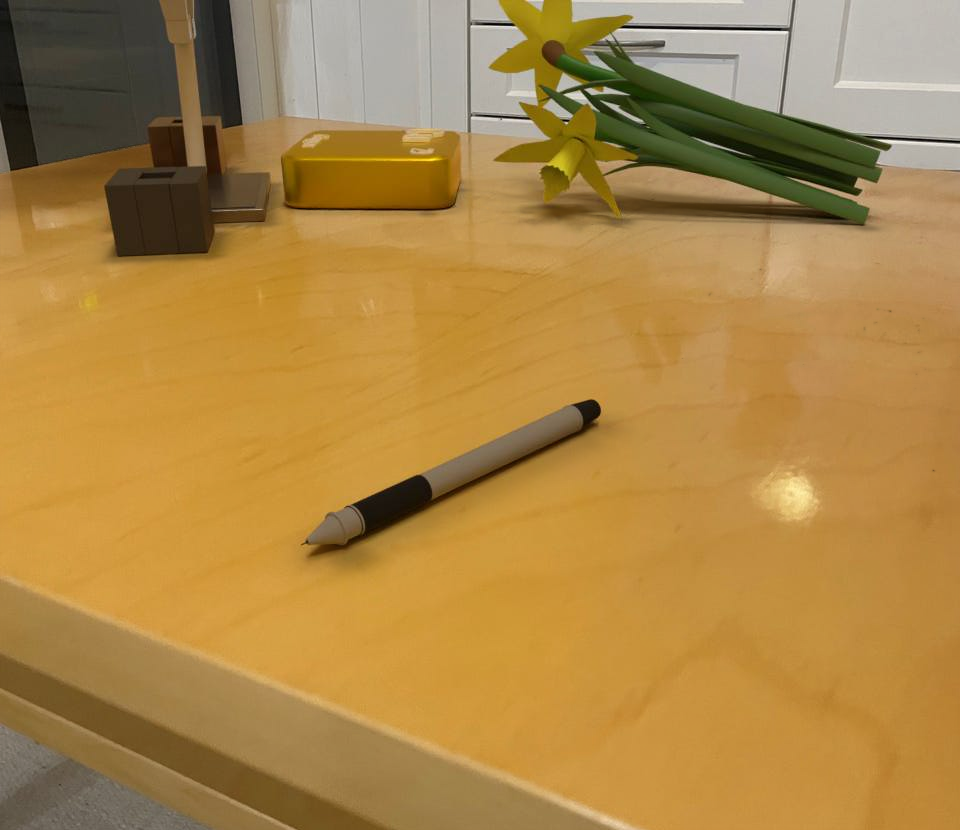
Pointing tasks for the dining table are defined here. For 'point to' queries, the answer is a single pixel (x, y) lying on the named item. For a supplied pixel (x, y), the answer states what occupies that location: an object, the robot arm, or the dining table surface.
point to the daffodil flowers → (668, 122)
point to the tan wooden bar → (190, 103)
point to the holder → (160, 210)
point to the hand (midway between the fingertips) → (183, 42)
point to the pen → (451, 474)
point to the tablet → (239, 196)
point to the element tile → (373, 169)
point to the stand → (171, 143)
